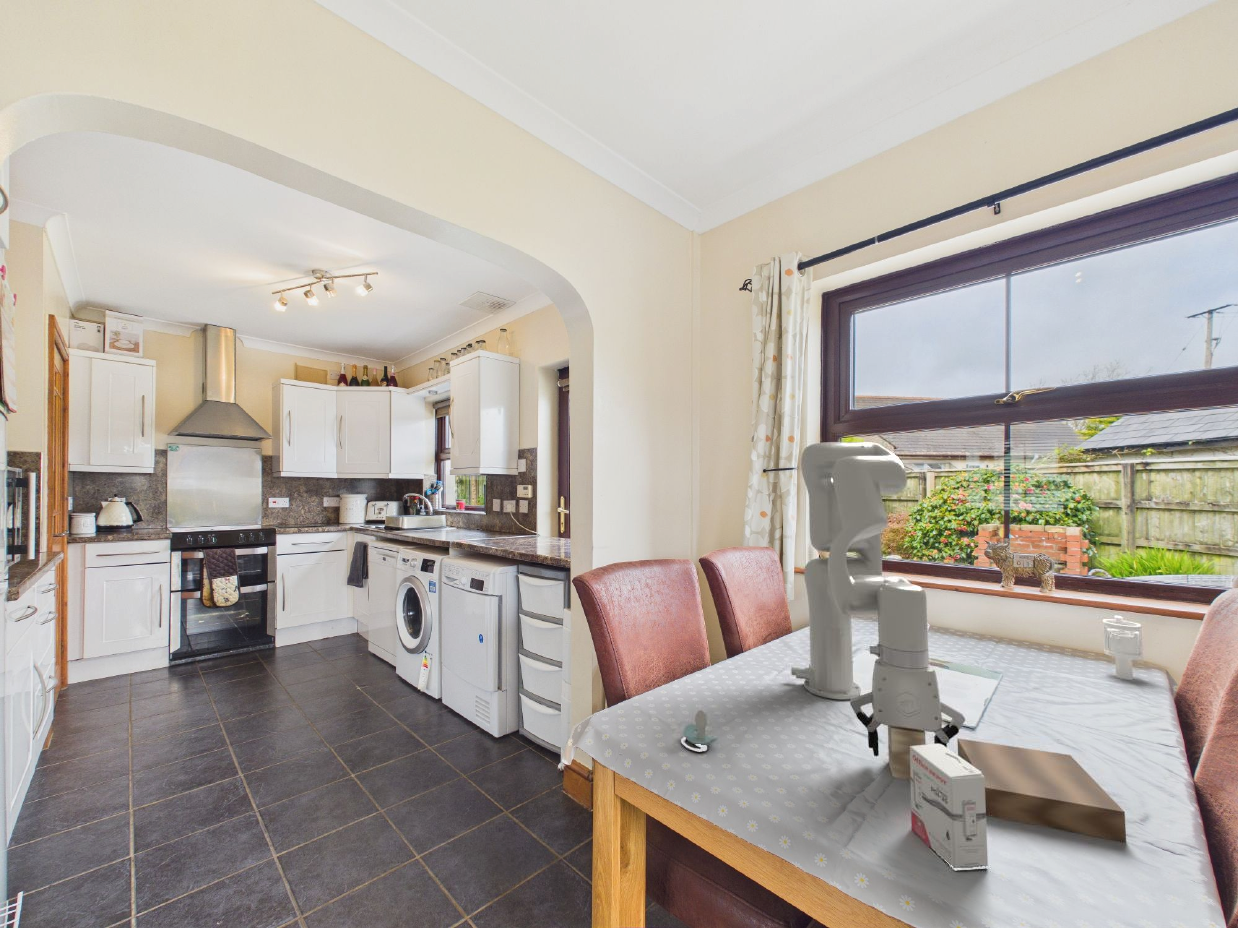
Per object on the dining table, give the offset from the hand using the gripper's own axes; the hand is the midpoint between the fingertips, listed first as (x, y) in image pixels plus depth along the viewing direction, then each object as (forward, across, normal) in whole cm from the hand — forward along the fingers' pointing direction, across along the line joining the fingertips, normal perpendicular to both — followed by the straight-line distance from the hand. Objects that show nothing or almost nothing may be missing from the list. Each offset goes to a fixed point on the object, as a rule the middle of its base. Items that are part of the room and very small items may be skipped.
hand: (906, 757), depth 87 cm
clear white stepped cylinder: (+2, +59, +69) cm, 91 cm away
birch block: (+2, 0, 0) cm, 2 cm away
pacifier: (+3, -36, -4) cm, 36 cm away
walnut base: (+2, +17, -1) cm, 17 cm away
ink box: (+3, +2, -19) cm, 19 cm away
